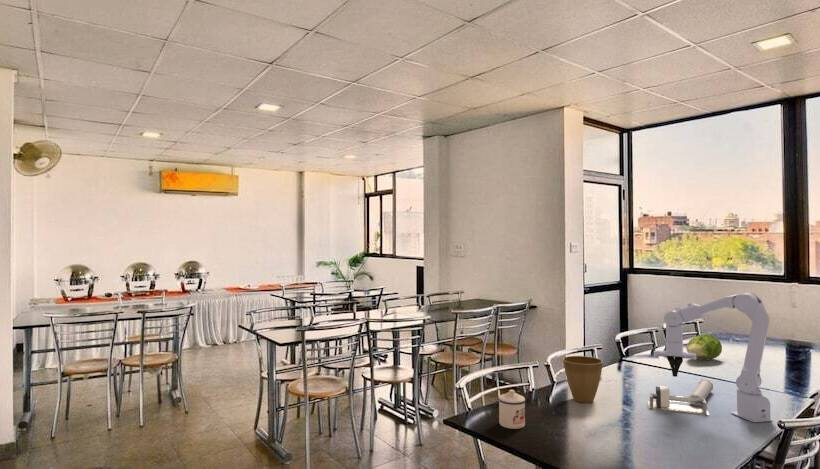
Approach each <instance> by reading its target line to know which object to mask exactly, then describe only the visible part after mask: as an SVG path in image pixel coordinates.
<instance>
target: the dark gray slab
mask: <svg viewBox="0 0 820 469" xmlns="http://www.w3.org/2000/svg"><path fill="white" fill-rule="evenodd" d="M655 394H657V399H655V402H656V404H657V407H661V391H660V388H659V386H655Z"/></svg>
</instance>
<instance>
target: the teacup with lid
mask: <svg viewBox="0 0 820 469" xmlns="http://www.w3.org/2000/svg"><path fill="white" fill-rule="evenodd" d="M498 405H499V406H498V412H499V413H498V414H499V415H498V416H499V421H498V422H499V425H500V426H501V427H502V428H506V429H513V430H514V429H515V430H517V429H522V428H524V427H525V425H526V407H525V406H526V398H525V396H523V395H520V394H519V393H516V390H514V389H509V390H508V392H505V393H503V394H500V395H499V396H498Z"/></svg>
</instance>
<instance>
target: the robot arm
mask: <svg viewBox="0 0 820 469" xmlns="http://www.w3.org/2000/svg"><path fill="white" fill-rule="evenodd" d="M724 308H728V309H731V310H733V309H737V310H738V311H739V312H741V313H743V314H744V315H746V317H748V319H749V320H750V321H751V327H750V332H749V338H748V343H747V349H746V352H745V357H744V362H743V366H742V369H741V372H740V375H738V377H736V381H735V385H736V410H737V411H731V414H732V415H735V416H737V417H739V418H742V419H743V420H747V421H749V422H751V423H764V422H773V419H772V418H771V403H770V399H769V398H767V397H766V396H764V395H763V394H762V390H761V389H760V386H761V384H762V378H761V364H762V360H763V355H764V352H765V351H764V350H765V345H766V341H767V336H768V332H769V326H770V320H771V318H770V315H769V313H768V312H767V309H766V308H765V306H764V304H763V300H762V299H761V298H759V297H758V295H756V294H755V293H753V292H746V291H745V292H743V293H737V294H732V295H731V294H730V295H728V296H724V297H721V298H718V299H714V300H711V301H710V302H709V301H708V302H706V303H703V304H701V305H700V304H697V303H692V302H690V303H688V304H687V305H686V306H683V307H677V308H675V310H670V311H669V310H668V312H667V313H665V314H664V317H663V320H664V322H665V323H666V324H665V326H666V327H665V339H666V340H665V341H666V342H665V344H666V345H665V350H653V357H665V358H666V360H667V361H668V364H669V366H670V368H671V374H672V377H675V378H677V377H678V373H679V369H680V367H681V365H682V364H683V361H684V359H686V360H687V359H689V360H694V361H695V360H697V358H696V354H693V353H688V352H685V351H684V350H683V349H684V345H683V343H684V341H683V337H684V336H683V323H685V324H686V323H689V322H693V321H695V320H696V321H697V320H698V319H702V318H703V317H704V315H705V313H709V312H713V311H716V310H720V309H724Z"/></svg>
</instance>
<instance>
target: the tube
mask: <svg viewBox="0 0 820 469" xmlns="http://www.w3.org/2000/svg"><path fill="white" fill-rule="evenodd" d="M713 390H714V383H713V382H711V381H710V380H708V379H703V378H702V379H701V380H700V381H699V382H698V384H697V385H696V387H695V388H694V390H693V391H692V392H691V393H690V395H689V396H688V397H690V398H699V399H701V398H703V399H705V400H706V399H707V398H708V396H709V395H710V393H711V392H712V391H713ZM690 404H691V406H694V407H701V404H693V403H690Z"/></svg>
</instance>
